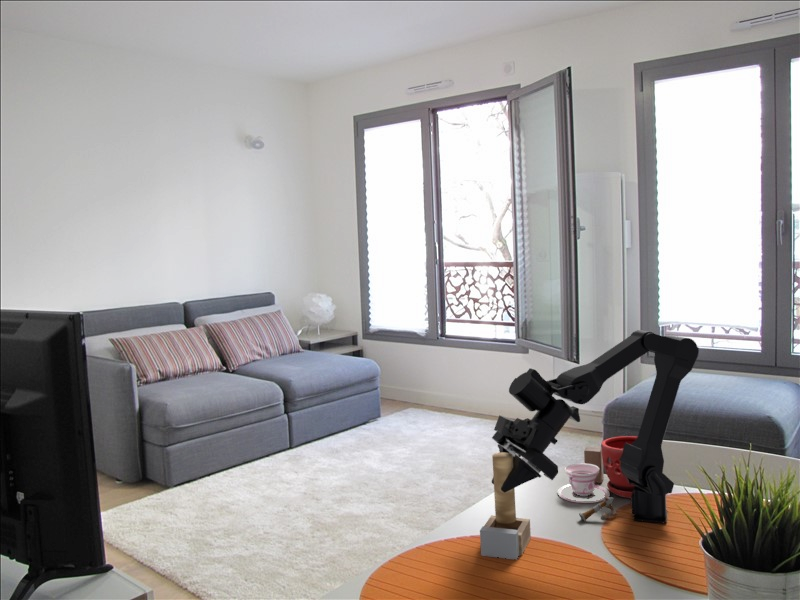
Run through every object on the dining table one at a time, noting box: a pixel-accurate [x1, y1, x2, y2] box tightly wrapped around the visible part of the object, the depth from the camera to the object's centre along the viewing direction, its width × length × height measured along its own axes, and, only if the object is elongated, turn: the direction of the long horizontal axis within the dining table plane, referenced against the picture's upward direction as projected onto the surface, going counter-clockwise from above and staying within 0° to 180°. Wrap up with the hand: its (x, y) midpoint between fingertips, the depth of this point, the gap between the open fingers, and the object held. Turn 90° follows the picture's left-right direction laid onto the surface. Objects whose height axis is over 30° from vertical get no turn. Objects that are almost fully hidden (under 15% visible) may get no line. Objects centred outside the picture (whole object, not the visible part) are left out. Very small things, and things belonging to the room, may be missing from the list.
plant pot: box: [601, 435, 638, 499], centre depth 160 cm, size 13×13×12 cm
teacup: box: [556, 462, 611, 504], centre depth 161 cm, size 12×12×6 cm
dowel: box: [491, 452, 517, 524], centre depth 136 cm, size 4×4×13 cm
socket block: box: [483, 514, 532, 556], centre depth 136 cm, size 8×8×4 cm
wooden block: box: [583, 446, 605, 484], centre depth 169 cm, size 4×4×8 cm
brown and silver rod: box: [578, 496, 618, 523], centre depth 146 cm, size 2×8×4 cm, turn 100°
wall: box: [479, 525, 520, 561], centre depth 132 cm, size 7×2×5 cm, turn 67°
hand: (497, 487), depth 135 cm, fingers closed on dowel, 4 cm apart
